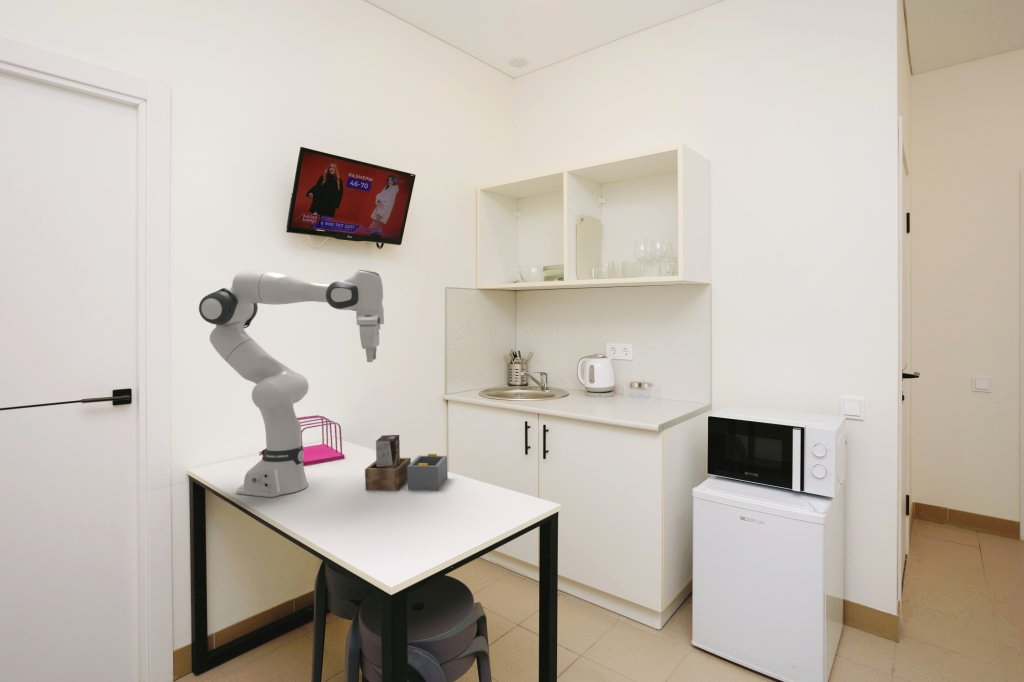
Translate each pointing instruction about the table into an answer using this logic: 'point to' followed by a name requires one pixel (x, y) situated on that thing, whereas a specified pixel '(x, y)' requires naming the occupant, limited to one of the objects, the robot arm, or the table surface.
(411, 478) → the frame
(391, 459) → the coffee box
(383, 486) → the open wooden box
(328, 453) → the file sorter
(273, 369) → the robot arm
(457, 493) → the table surface
